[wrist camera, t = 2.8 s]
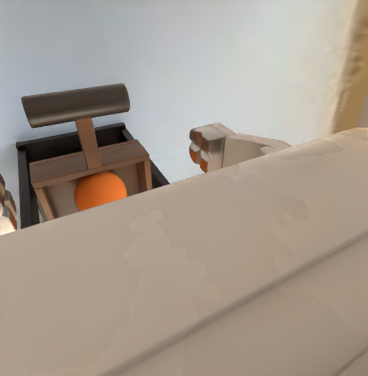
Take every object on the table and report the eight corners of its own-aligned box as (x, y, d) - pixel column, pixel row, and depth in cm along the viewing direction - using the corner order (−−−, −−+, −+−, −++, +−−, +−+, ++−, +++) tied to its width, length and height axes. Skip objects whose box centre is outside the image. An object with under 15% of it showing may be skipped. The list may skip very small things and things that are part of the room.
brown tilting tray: (-18, 89, 16) (-23, 108, 13) (139, 71, 20) (157, 83, 17) (56, 252, 25) (61, 280, 23) (153, 219, 29) (165, 240, 27)
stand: (12, 143, 29) (13, 237, 18) (125, 122, 33) (179, 186, 23) (23, 168, 31) (30, 265, 20) (128, 144, 35) (179, 213, 25)
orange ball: (64, 168, 20) (72, 196, 18) (114, 156, 22) (130, 181, 19) (77, 207, 23) (86, 237, 20) (121, 194, 24) (136, 220, 22)
